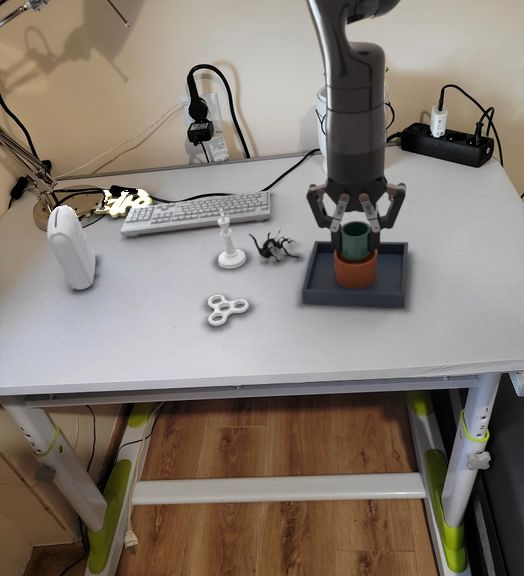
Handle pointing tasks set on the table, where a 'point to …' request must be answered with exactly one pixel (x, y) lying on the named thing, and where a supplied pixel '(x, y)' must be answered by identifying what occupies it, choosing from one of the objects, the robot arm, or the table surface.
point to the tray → (379, 294)
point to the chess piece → (229, 246)
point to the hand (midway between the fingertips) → (355, 248)
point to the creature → (266, 250)
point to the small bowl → (355, 240)
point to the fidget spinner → (227, 312)
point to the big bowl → (355, 271)
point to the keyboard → (197, 213)
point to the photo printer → (71, 247)
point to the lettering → (124, 203)
